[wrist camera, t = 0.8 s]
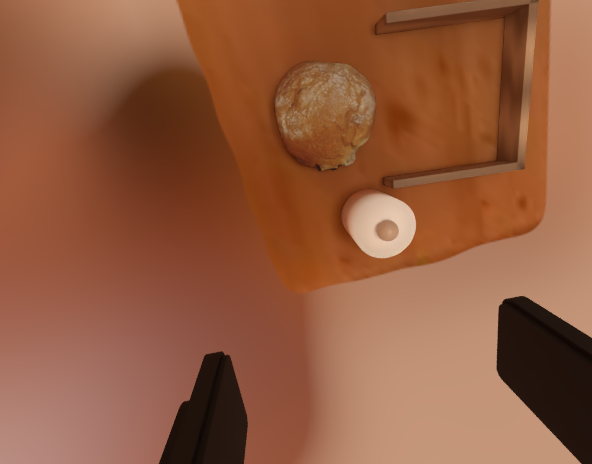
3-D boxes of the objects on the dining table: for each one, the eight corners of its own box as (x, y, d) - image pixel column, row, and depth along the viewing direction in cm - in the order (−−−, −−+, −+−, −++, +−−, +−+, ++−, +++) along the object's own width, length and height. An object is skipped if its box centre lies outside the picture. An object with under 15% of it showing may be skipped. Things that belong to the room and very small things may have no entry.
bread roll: (359, 88, 34) (381, 31, 26) (370, 174, 33) (397, 141, 25) (272, 93, 34) (268, 36, 26) (279, 180, 32) (277, 149, 24)
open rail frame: (375, 25, 29) (386, 12, 26) (513, 6, 29) (538, -9, 27) (383, 184, 34) (393, 188, 31) (503, 166, 34) (524, 169, 31)
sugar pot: (339, 192, 34) (356, 206, 26) (391, 185, 34) (423, 196, 26) (343, 243, 35) (361, 268, 28) (393, 235, 35) (424, 259, 28)
